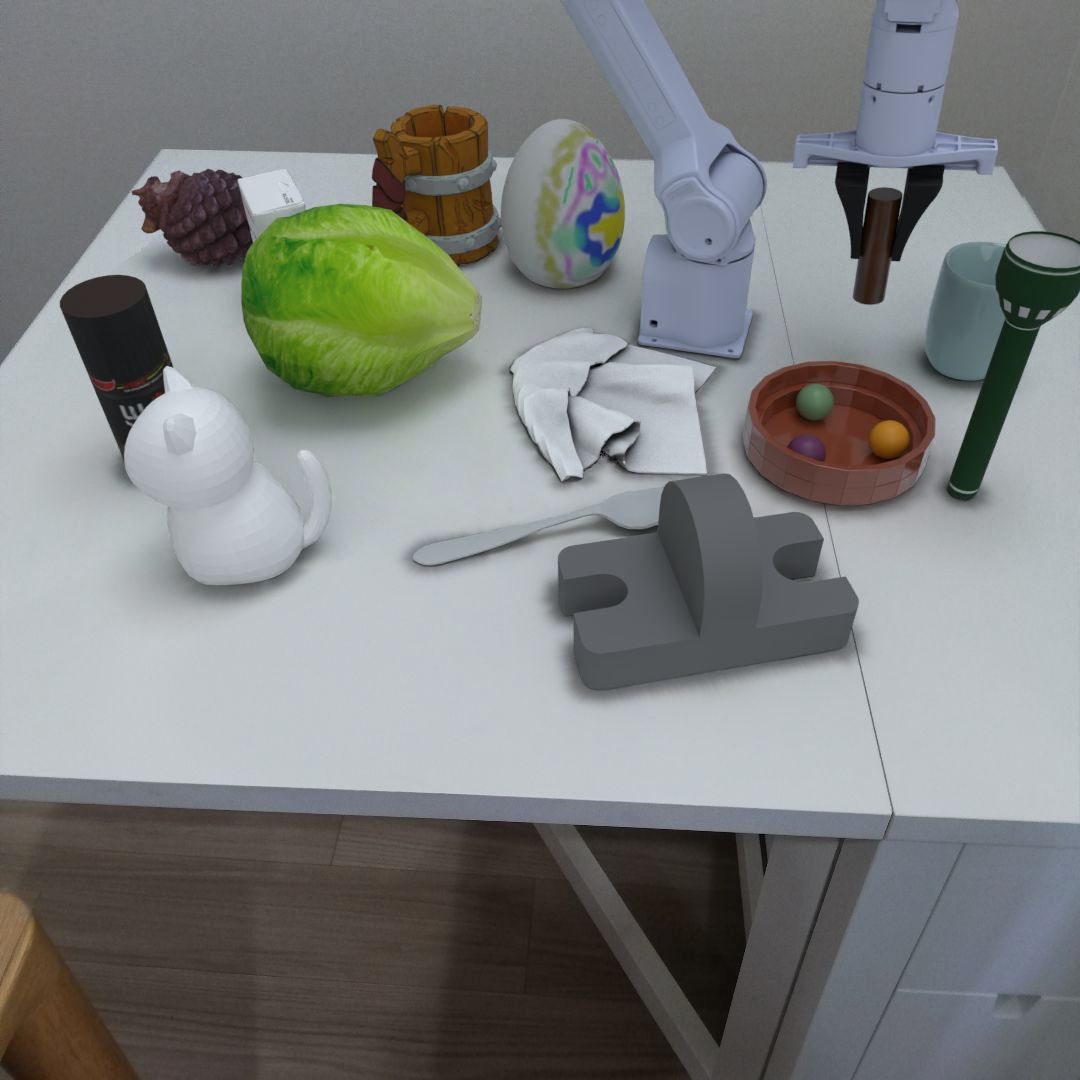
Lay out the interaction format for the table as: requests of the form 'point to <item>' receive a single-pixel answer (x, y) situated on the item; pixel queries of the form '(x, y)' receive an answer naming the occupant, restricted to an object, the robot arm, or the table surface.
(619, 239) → the decorative egg
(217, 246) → the pine cone
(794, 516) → the bracket
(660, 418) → the cloth
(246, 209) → the ink box
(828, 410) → the sage bead
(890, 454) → the amber bead
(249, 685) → the table surface
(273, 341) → the lettuce
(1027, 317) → the flashlight
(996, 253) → the cup
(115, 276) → the deodorant
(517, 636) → the table surface
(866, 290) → the stick
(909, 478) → the bowl
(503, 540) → the spoon
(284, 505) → the cat figurine
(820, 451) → the plum bead
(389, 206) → the mug
